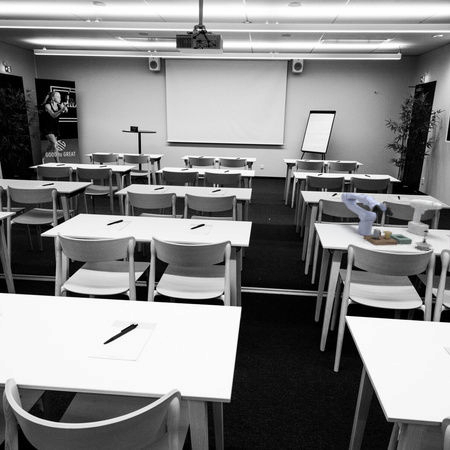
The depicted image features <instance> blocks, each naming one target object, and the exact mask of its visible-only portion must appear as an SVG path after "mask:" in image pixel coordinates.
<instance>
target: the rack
mask: <svg viewBox="0 0 450 450" xmlns="http://www.w3.org/2000/svg"><path fill="white" fill-rule="evenodd" d="M390 238H392V239H393V240H395V241H397V242H398V243H397V245H412V242H413V239H412V238H410V237H408V236H406V235H403V234H402V233H396V234H395V233H392V234H390Z"/></svg>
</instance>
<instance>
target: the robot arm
mask: <svg viewBox="0 0 450 450" xmlns="http://www.w3.org/2000/svg"><path fill="white" fill-rule="evenodd" d="M340 198H341V202H342V203H344V204H345V206H346V207H347V209H348V210H350V211H351V212H353V213H355V214H356V215H358V219H359V220H360V221H359V222H358V226H357V228H358V229H357V230H356V232H357V233H358V234H360V235H361V236H372V235H373V233H372V230H373V223H375V221H376V220H377V214H379V215H383V214H384V215H385V216H389V217H393V215H394V213H393V210H391V209H392V208H391V207H390V206H385V205H384V203H383V202H379V201H377V200H376V199H375V197H374V196H369V195H368V194H367V195H365V194H364V193H361V194H358V193H356V192H349V193H348V192H343V193H342V194H341V197H340ZM357 202H358V203H361V204H363V206H368V207H369V208H370V210H372V211H370V210H369V211H368V210H366V209H364V208H363V207H361V206H359V205H358V204H357Z"/></svg>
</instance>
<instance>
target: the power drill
mask: <svg viewBox="0 0 450 450" xmlns="http://www.w3.org/2000/svg"><path fill="white" fill-rule="evenodd" d="M409 205H410V207H411V208H413V209H414V213H413V217H412V220H411V221H408V224H407V232H408V233H411V234H414V235H417V236H420V235H421V237H422V236H423V237H426V236H427V235H428V233H426V232H424V231H425V230H427V231H428V232H429V227H430V225H428V224H425V223H423V222H421V218H422V215H425V212H426V211H428V210H442V209H443V207H444V206H443V204H442V203H440V202H436V201H432V200H427V199H418V198H417V199H414V198H413V199H411V200H410V201H409ZM425 233H426V235H425Z"/></svg>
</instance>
